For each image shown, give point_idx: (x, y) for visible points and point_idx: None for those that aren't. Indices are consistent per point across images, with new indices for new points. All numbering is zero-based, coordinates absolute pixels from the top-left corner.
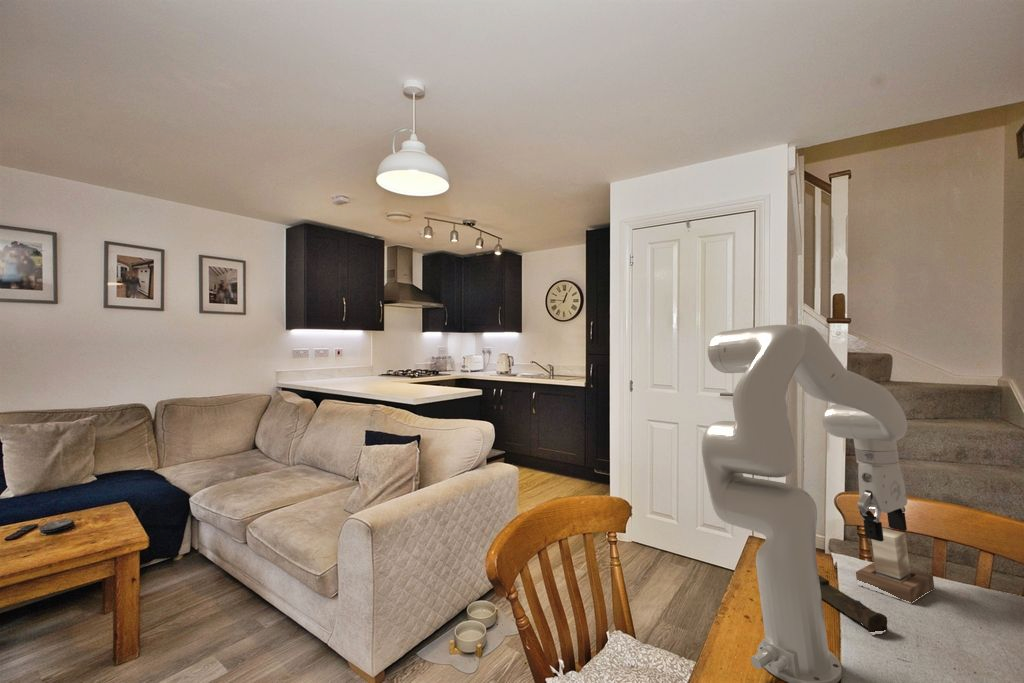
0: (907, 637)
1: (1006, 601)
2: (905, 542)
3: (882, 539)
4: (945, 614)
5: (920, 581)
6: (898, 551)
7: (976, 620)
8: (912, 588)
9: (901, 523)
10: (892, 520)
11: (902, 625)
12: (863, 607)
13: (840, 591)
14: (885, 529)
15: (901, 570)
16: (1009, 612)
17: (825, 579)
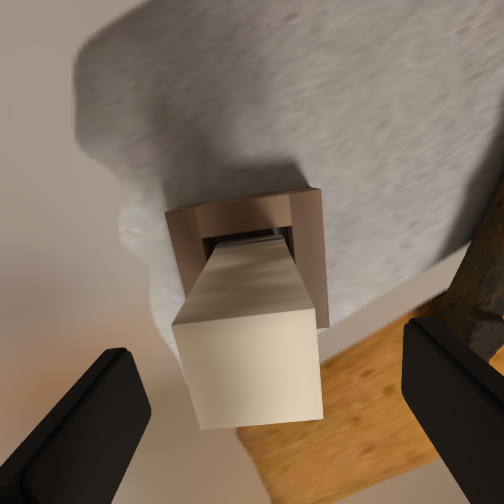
0: (500, 86)
1: (75, 71)
2: (195, 295)
3: (433, 321)
4: (293, 111)
5: (238, 205)
6: (276, 274)
7: (258, 47)
8: (301, 192)
9: (103, 398)
10: (117, 448)
11: (443, 131)
12: None
13: (498, 273)
14: (213, 404)
15: (269, 247)
16: (132, 27)
17: (484, 327)
